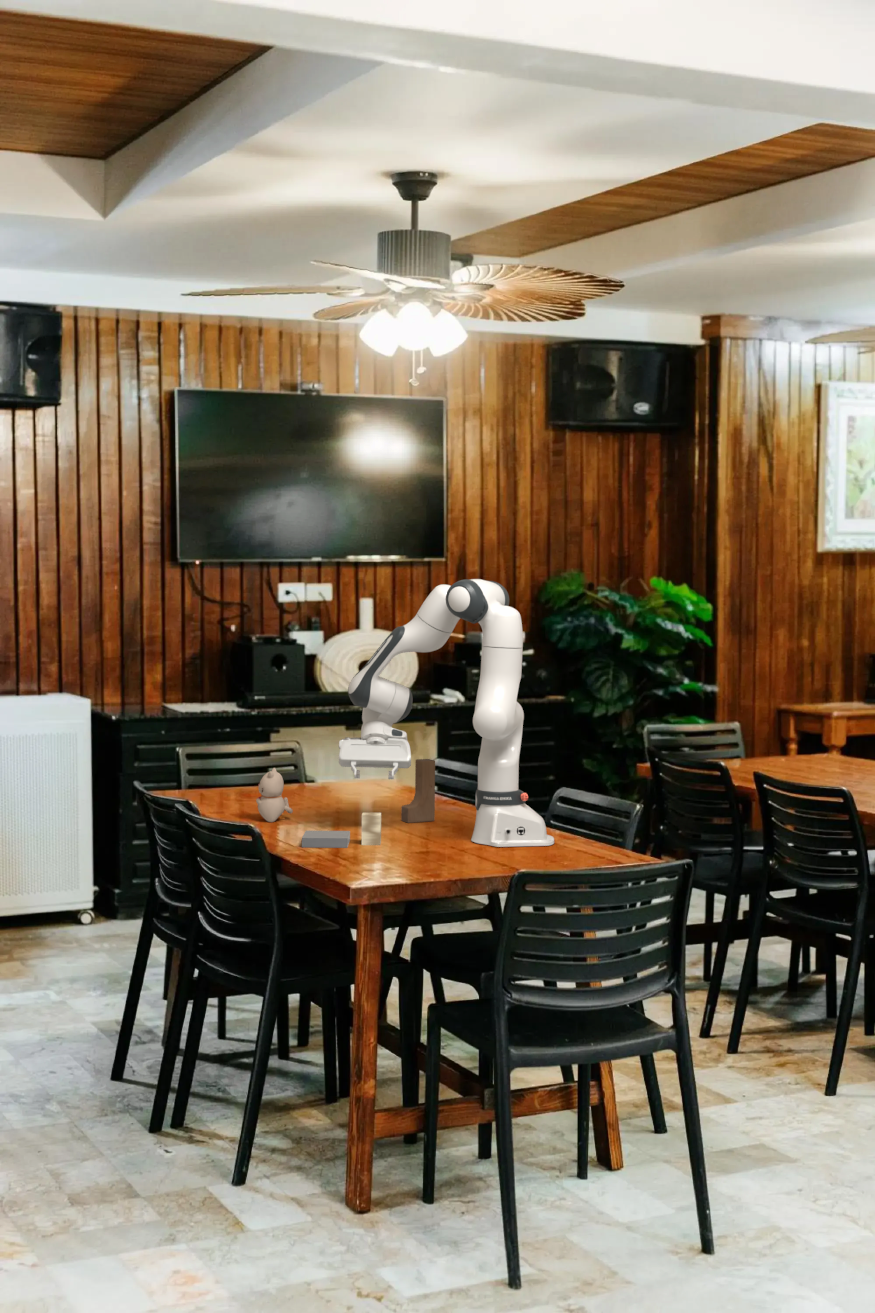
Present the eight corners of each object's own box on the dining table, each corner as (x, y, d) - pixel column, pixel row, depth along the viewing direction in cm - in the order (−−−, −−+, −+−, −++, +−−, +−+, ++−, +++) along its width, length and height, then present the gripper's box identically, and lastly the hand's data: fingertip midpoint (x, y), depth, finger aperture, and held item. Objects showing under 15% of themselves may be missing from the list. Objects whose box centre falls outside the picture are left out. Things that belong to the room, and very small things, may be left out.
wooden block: (407, 823, 445) (408, 761, 445) (400, 821, 449) (401, 760, 449) (435, 821, 450) (435, 760, 449) (428, 819, 454) (428, 758, 453)
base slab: (350, 840, 416) (350, 831, 415) (347, 847, 404) (347, 838, 403) (305, 839, 416) (305, 830, 415) (301, 847, 404) (301, 838, 403)
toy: (260, 816, 456) (260, 766, 455) (295, 817, 455) (295, 766, 455) (253, 822, 444) (253, 771, 443) (289, 823, 443) (289, 771, 442)
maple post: (380, 842, 413) (381, 812, 413) (380, 845, 408) (380, 815, 408) (362, 842, 413) (362, 812, 413) (361, 845, 408) (361, 815, 408)
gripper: (339, 730, 430) (335, 769, 420) (412, 732, 430) (410, 771, 420) (339, 744, 434) (336, 783, 425) (411, 746, 434) (410, 785, 425)
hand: (373, 777), depth 423 cm, fingers open, 8 cm apart
